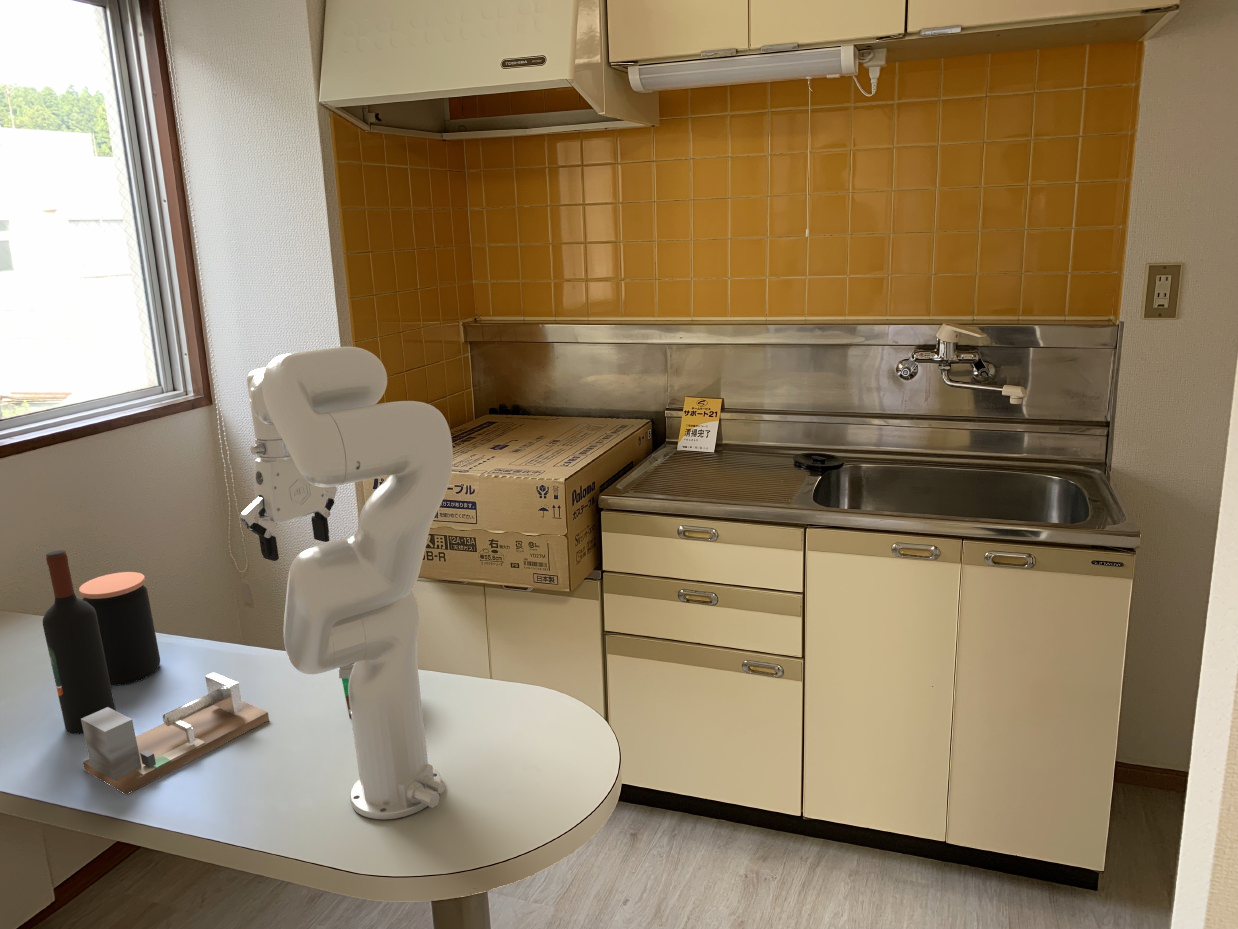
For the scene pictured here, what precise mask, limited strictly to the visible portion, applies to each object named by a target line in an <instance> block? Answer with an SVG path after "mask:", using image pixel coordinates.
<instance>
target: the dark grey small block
mask: <svg viewBox="0 0 1238 929" xmlns="http://www.w3.org/2000/svg"><path fill="white" fill-rule="evenodd" d="M140 754H141V759H142V764H144V765H146V766H147V767H149V768H150V767H152V766H154V765H156V762H155V756H154V753H152V752H150V751H148V750H145V751H143V752H141V753H140Z"/></svg>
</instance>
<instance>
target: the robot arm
mask: <svg viewBox="0 0 1238 929" xmlns="http://www.w3.org/2000/svg"><path fill="white" fill-rule="evenodd" d="M386 370H387V369H386V368H385V366H384V363H383V362H382V361H381V359H379V358H378V357H377V355H375V354H374V353H372V352H371V351H369V350H367V349H364V348H361V347H358V346H338V347H337V346H336V347H331V348H322V349H315V350H313V349H312V350H307V351H306V350H305V351H304V350H303V351H297V352H289V353H283V354H280V355H277V356H276V357H274V358H273V359H272V360H270V362H269V363H268V364H267V365H266V366H264V367H259V368H256V369H253V370H251V371H249V373H248V375H247V377H246V382H247V383H246V384H247V390H248V391H247V392H248V398H249V402H250V403H249V405H250V411H251V412H250V413H251V418H252V426H253V431H254V438H255V440H254V441H255V445H252V446H250V453H251V454H252V455H255V456H257V458H255V460H254V472H253V476H254V477H253V478H254V479H253V481H254V484H253V486H254V498H255V499H254V500H253V501H252V502H251V503H250V504H249V505H248V506H247V507H246V508H245V509H244V510H242V512H241V513H239V514H240V515H239V519H240V520H241V521H242V522H243V524H244V525H245V526H246V529H248V530H249V531H250V532H252V533H253V534H255V536H258V539H259V546H260V552H261V556H262V557H263V559H264V560H265V559H266V560H269V561H272V562H276V561H278V560H279V559H280V558H279V557H280V556H279V550H278V549H279V548H278V542H277V537H276V536H275V535H273V533H274V531H275V529H276V528H277V525H278V524H284V523H289V522H291V521H293V520H297V519H300V518H303V517H306V516H308V515H312V514H313V516H311V526H312V533H313V534H312V535H313V539H314V540H315V541H320V542H323V544H318V545H315V546H312V547H309V548H306V549H305V550H303V551H301V552H299V553H298V554H297V556H295V557H294V559H293V561H292V562H291V564H290V567H289V570H288V576H287V585H286V598H285V608H284V614H283V615H284V616H283V617H284V618H283V643H284V649H285V653H286V656H287V657H288V660H289V662H290V664H291V665H292V666H293V667H294V668H295V669H296V671H299V672H301V673H302V674H305V675H318V674H322V673H323V674H324V673H326V672H330V671H332V670H335V669H340V667H343V666H346V665H349V664H352V663H355V664H354V666H353V669H352V672H351V675H350V679H349V684H348V695H349V703H350V711H351V718H350V719H351V724H352V732H353V740H354V746H355V748H354V749H355V755H356V756H355V757H356V762H357V770H358V778H359V779H358V780H356V782H355V783H354V785H352V787H351V790H350V792H349V793H350V794H349V799H350V804H351V806H352V808H353V809H354V811H355V812H356V813H357V814H359V815H361V816H363V817H366V818H369V819H373V820H395V819H400V818H404V817H407V816H411V815H413V814H416V813H418V812H420V811H422V810H424V809H425V808H427V807H429V808H432V809H433V808H436V807H437V805H438V804H439V802H440V798H441V796H440V794H442V793H444V791H445V790H446V785H445V783H443V782H442V778H441V774H440V772H439V771H438V770H437V769H436V768H434V767H433V765H432V764H429V759H428V750H427V749H428V748H427V741H426V733H425V732H426V731H425V723H424V714H423V706H422V696H421V684H420V676H419V666H418V664H419V663H418V639H419V630H420V629H419V627H420V609H419V604H418V601H417V598H416V596H415V593H414V592H413V591H414V588H415V586H416V584H417V582H418V579H419V576H420V573H421V568H422V564H423V561H424V560H423V559H424V557H425V556H424V555H425V552H426V548H427V544H428V538H429V534H430V529H431V527H432V524H433V521H434V519H435V517H436V515H437V513H438V511H439V509H440V507H441V505H442V502H443V500H444V499H445V496H446V494H447V490H448V488H449V486H450V482H451V477H452V470H453V461H454V458H453V457H454V451H453V450H454V449H453V441H452V439H453V438H452V434H451V430H450V427H449V424H448V422H447V420H446V417H445V416H444V415H443V413H442V412H441V411H440V410H439V409H437V408H436V407H435V406H434V405H431V404H429V403H427V402H423V401H415V400H400V401H399V400H398V401H389V402H381V403H378V402H379V401H381V399H382V397H383V395H384V394H385V392H386V389H387V386H388V374H387V371H386ZM386 476H387V478H386V479H385V480H384V481H383V482H382V483H380V485H379V486H378V487H377V488H376V489H375V490H374V491H372V494H371V495H370V496H369V497H368V499H367V500H366V502H365V504H364V505H363V507H362V509H361V510H360V514H359V518H358V522H357V529H356V532H355V533H354V534H352V535H351V536H348V537H345V538H343V539H339V540H334V541H330V529H329V521H328V518H329V517H331V510H332V508H333V506H334V505H335V498H336V494H337V492H338V488H337V487H339V486H344V485H348V484H353V483H358V482H362V481H367V480H372V479H378V478H381V477H386ZM256 515H258V517H259V520H258V522H257V521H256V519H255V516H256ZM329 541H330V542H329Z"/></svg>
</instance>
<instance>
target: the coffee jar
mask: <svg viewBox="0 0 1238 929" xmlns="http://www.w3.org/2000/svg"><path fill="white" fill-rule="evenodd" d="M145 583H146V577H145V575H144V574H143V573H142V572H135V571H122V572H121V571H120V572H116V573H114V572H113V573H109V574H104V575H101V576H97V577H95V578H92V579H90V580H88V581H85V582H84V583H82V584H81V585H80V587H78V588H79V589H78V593H79V595H80V596H81V597H82V599H81V600H83V601H86V602H88V603H89V604H90V605H91V606H92V607H94V609H95V611H96V615H97V620H98V625H99V630H100V635H101V640H102V645H103V650H104V655H105V660H106V665H107V670H108V674H109V679H110V684H111V686H124V685H129V684H134V683H137V682H139V681H143V680H145V679H146V678H148V677H151V676H152V675H153V674H154V673H155V672H156V671H157V670H158V669H159V666H160V663H161V657H160V656H161V655H160V650H159V646H158V640H157V635H156V629H155V624H154V619H153V618H154V617H153V613H152V609H151V603H150V597H149V591H148V588H147V587H146V586H145Z"/></svg>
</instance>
